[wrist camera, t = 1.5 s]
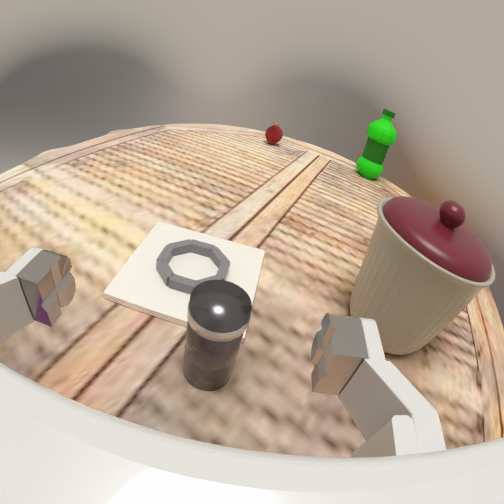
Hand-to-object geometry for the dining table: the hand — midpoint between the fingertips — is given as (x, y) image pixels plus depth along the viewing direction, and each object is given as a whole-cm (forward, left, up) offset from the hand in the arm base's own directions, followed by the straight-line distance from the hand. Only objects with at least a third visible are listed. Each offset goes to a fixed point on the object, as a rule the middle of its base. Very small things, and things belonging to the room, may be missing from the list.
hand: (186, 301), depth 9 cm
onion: (-3, +100, -22) cm, 103 cm away
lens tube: (0, +11, -22) cm, 25 cm away
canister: (+23, +25, -22) cm, 41 cm away
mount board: (-6, +25, -22) cm, 34 cm away
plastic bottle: (+32, +97, -22) cm, 105 cm away
